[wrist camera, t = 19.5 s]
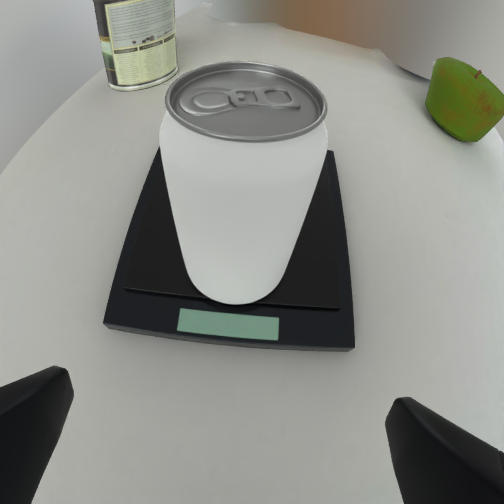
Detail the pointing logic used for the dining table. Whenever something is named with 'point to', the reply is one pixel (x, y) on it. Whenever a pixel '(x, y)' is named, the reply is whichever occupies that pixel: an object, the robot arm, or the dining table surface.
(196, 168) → the can
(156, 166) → the scale
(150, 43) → the coffee can
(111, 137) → the dining table surface
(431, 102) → the apple
